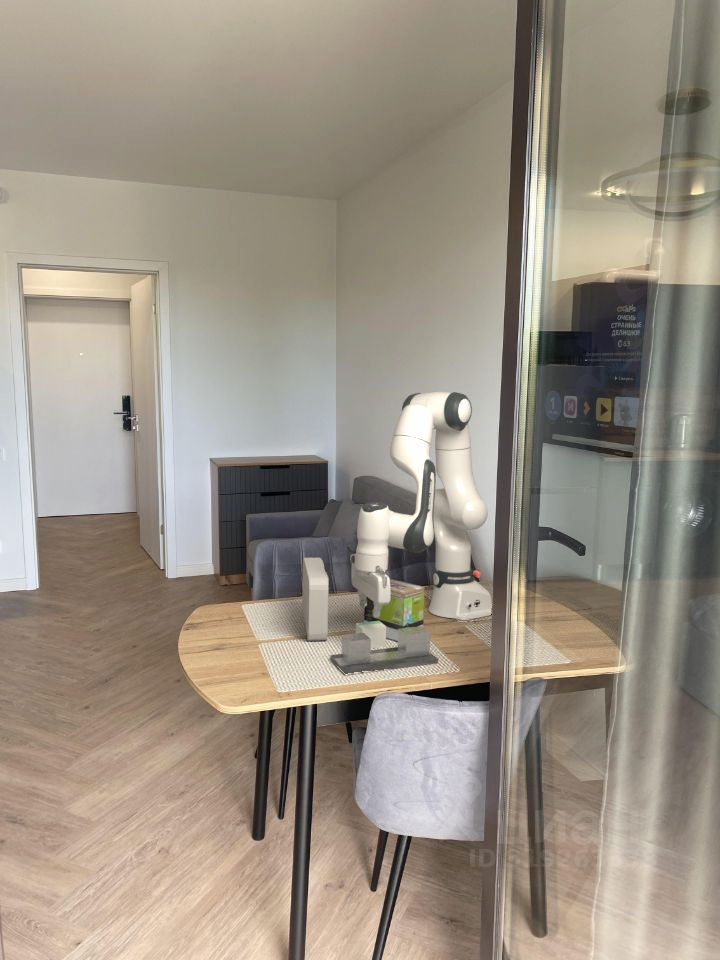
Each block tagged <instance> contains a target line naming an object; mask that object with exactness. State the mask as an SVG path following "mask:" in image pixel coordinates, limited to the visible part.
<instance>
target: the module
mask: <svg viewBox="0 0 720 960" xmlns="http://www.w3.org/2000/svg"><path fill="white" fill-rule="evenodd" d="M356 633H365V634H366V635H367V636H368V637H369V638H370V639H371V648H374V649H380V648H379V647H382V648H386V645H387V643H386V642H387V641H386V640H387V638H386V626H385V625H384V624H382V623H381V622H380V621H372V622H364V621H363V622H356V623H355V634H356Z"/></svg>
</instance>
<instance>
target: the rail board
mask: <svg viewBox="0 0 720 960" xmlns="http://www.w3.org/2000/svg"><path fill="white" fill-rule="evenodd" d="M330 659H331V660H332V661H333V662H334V663H335V664H336V665H337V666H338V667H339V668H340V669H341V670H342V671H343V672H344V673H345V674H348V673H354V672H362V671H375V670H382V671H385V670H384V669H390V670H396V669H403V668H412V667H419V666H427V665H433V664H438V663H439V658H438V656H436V655H434V654H433V652H432V651H431V631H430V630H429V629H427V628H426V627H424V625H423V626H419V627H410V628H401V629H398V641H397V646H395V647H388V648H386V647H385V648H376V649H371V639H370V638H369V637H368V636H367V635H366V634H365V633H356V632H355V633H349V634H342V635H341V653H337V654H330ZM330 659H329V660H330ZM331 660H330V661H331ZM332 661H331V662H332ZM333 662H332V663H333ZM334 663H333V664H334ZM335 664H334V665H335ZM336 665H335V666H336ZM337 666H336V667H337ZM338 667H337V668H338ZM339 668H338V669H339ZM375 672H376V671H375Z"/></svg>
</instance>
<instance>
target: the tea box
mask: <svg viewBox="0 0 720 960" xmlns="http://www.w3.org/2000/svg"><path fill="white" fill-rule="evenodd" d="M389 579H390V602H389V604H386V605H383V606H382V608H381V611H380V617H374V616H372V610H373V609H374V602H373V601H372V600H371V599H369V598H368V597H367V596H366V600H367V606H366V607H363V608H364V609H363V613H364V615H363V622H372V621H380V622H381V623H382V624H384V625H385V626H386V639H389V640H392V641H395V642H398V629H401V628H410V627H419V626H423V627H424V618H425V617H424V616H425V613H424V612H425V611H424V610H425V586H422V585H418V584H414V583H410V582H405V581H401V580H396V579H392V578H389Z"/></svg>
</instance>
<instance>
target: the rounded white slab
mask: <svg viewBox="0 0 720 960" xmlns="http://www.w3.org/2000/svg"><path fill="white" fill-rule="evenodd" d="M329 581H330V580H329V575H328V573H327V572H326V570H325V564H324V561H323V559H322V558H321V557H303V559H302V603H301V608H302V610H301V611H302V616H303V622H305V623H304V627H305V632H306V633H307V634H306V639H307V641H311V642H312V641H314V642H315V641H327V640H328V629H329V628H328V627H329V626H328V620H329V619H328V618H329V616H328V615H329V590H330V589H329V588H330V584H329V583H330V582H329Z"/></svg>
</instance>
